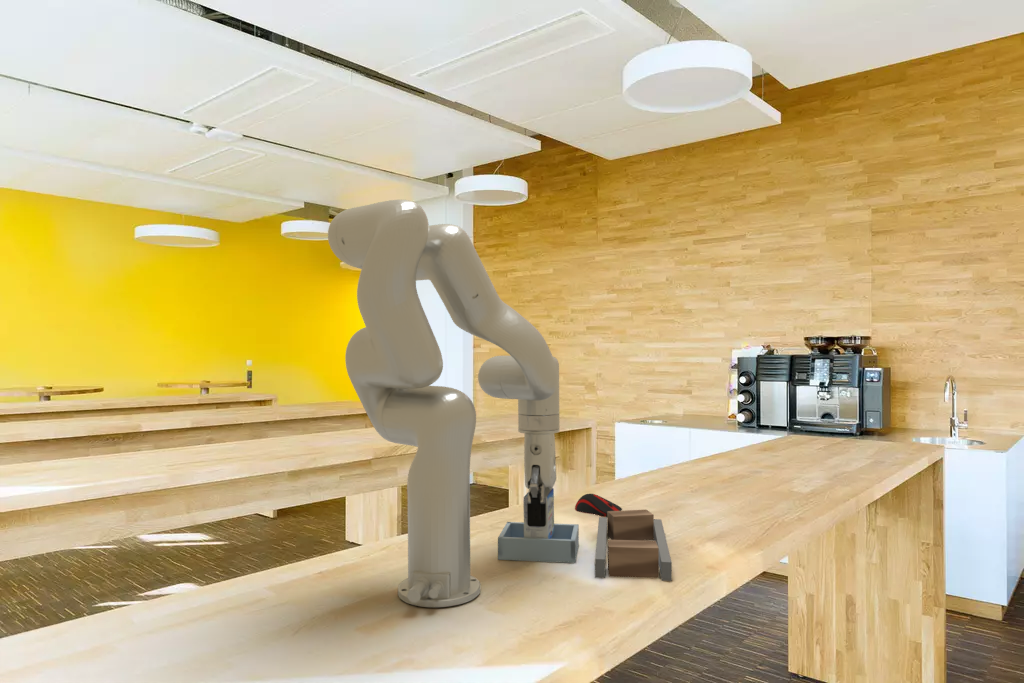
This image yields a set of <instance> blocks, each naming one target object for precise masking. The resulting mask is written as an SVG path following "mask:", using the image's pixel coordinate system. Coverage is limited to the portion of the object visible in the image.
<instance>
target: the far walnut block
mask: <svg viewBox="0 0 1024 683" xmlns="http://www.w3.org/2000/svg"><path fill="white" fill-rule="evenodd" d="M654 518H655V517H654V513H652V512H650V511H649V510H647V509H627V510H621V511H607V538H609V540H643V541H654Z"/></svg>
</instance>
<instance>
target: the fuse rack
mask: <svg viewBox="0 0 1024 683" xmlns="http://www.w3.org/2000/svg"><path fill="white" fill-rule="evenodd" d="M596 535H597V536H596V544H595V545H596V546H595V556H594V578H599V579H603V578H606V568H607V567H606V564H607V562H606V561H607V547H608V536H607V517H603V516H599V517H598V524H597V534H596ZM653 541H656V543H657V545H658V548H659V574H660V575H659V576H660V579H661V581H663V582H672V581H673V578H672V576H673V574H672V573H673V569H672V568H673V566H672V565H673V564H672V563H673V562H672V558H671V555H670V550H669V549H670V548H669V546H668V541H667V537H666V534H665V530H664V525H663V520H662V519H661V518H656V519H654V540H653Z"/></svg>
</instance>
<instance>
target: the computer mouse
mask: <svg viewBox="0 0 1024 683" xmlns="http://www.w3.org/2000/svg"><path fill="white" fill-rule="evenodd" d="M574 510H575V511H576V512H579V513H583V514H590V515H594V514H595V515H594V516H598V515H599V517H607V511H623V508H622V507H621V506H619V505H618V504H615V503H614V502H612V501H611V500H608V499H607V498H604V497H602V496H600V495H597V494H596V493H585V494H584V495H582V496H581V497H580V498H579V499H578V500H577V502H576V504H575V506H574Z"/></svg>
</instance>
